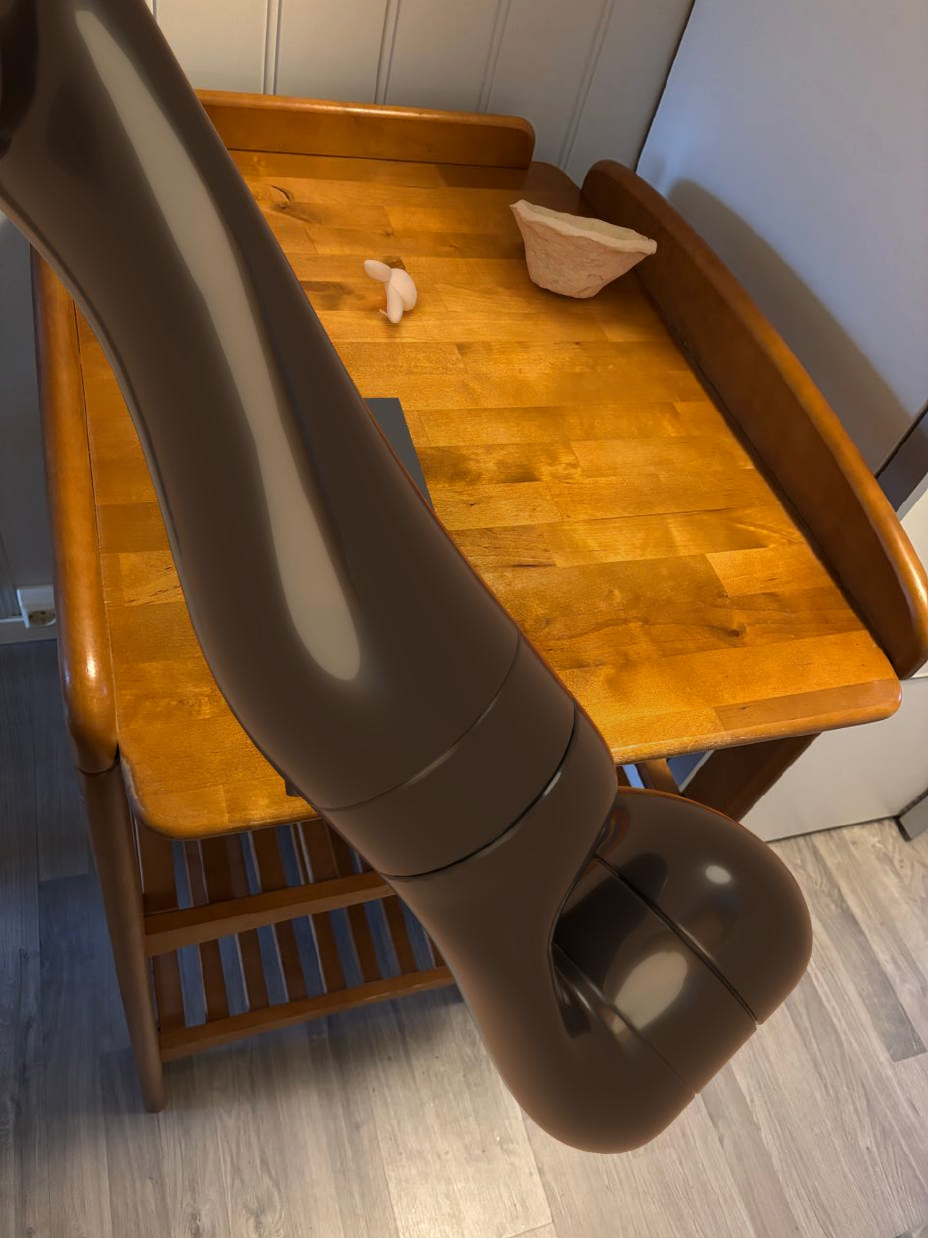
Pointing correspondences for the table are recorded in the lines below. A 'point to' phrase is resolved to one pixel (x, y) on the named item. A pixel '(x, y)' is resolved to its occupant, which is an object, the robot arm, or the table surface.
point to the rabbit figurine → (393, 288)
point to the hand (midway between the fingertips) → (368, 711)
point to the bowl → (576, 250)
